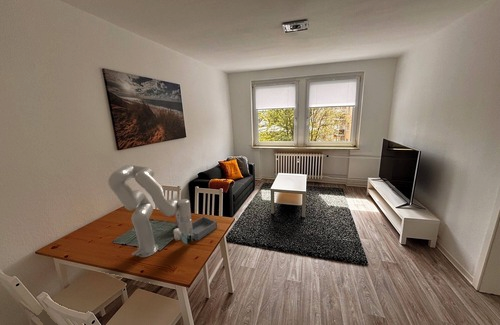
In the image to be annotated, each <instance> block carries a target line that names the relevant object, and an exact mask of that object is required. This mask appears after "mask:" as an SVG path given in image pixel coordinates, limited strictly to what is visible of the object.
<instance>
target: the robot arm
mask: <svg viewBox="0 0 500 325" xmlns="http://www.w3.org/2000/svg"><path fill="white" fill-rule="evenodd" d="M154 176H155V171H154V170H153V169H152V168H149V167H146V166H142V165H141V166H140V165H139V166H138V165H135V164H134V165H133V164H126V165H123V166H121V167H120V168H118V169H116V170H115V171H114V172H112V173H111V174H110V175H109V177H108V181H107V182H108V186H109V188H110V189H111V191H112V192H113V193H114V195H115V196H117V199H118V200H119V201H120V203H121V204H122V205H123V207H124V208H125V209H126V210H128V211H133V213H132V215H131V218H130V220H131V223H132V225H133V227H134V231H135V235H136V239H137V242H138V243H137V244H138V247H137V250H135V251H134V252H133V251H132V253H131V255H132V256H133V257H134V256H136V257H137V256H138V257H139V258H147V257H150V256H152V255H154V254H155V253H157V252H158V250H159V245H158V244H157V243H156V242H155V237H154V232H153V227H152V224H151V222H150V217H151V215H152V213H153V211H154V207H153V205H152V203H151V202H150V200H149V199H148V197H147V195H146V194H145V193H144V192H143V191H141V190H138V189H135V190H132V188H131V187H130V185H128V184H127V181H129V180H130V179H132V178H133V179H134V180H135V182H137V184H138V185H139V186H140V187H141V188H142V189H143V190H144V191H146V193H148V195H149V196H150V197H151V199H152V202H153V203H154V205H155V206H156V208H157V209H158V210H159V211H160V212H161V213H162V214H163V215H165V216H166V217H172V216H174V215H175V213H176V211H177V210H178V211H179V227H178V228H179V231H180V232H181V235H183V234H185V235H187V237H188V238H187V243H188V244H189V243H192V242H193V239H192V236H193V235H194V234H193V227H192V223H193V222H192V214H191V202H190V200H189V199H187V198H182V199H179V198H171V199H169V200H167V199H166V197H165V194H164V189H163V186H162V185H161V184H160V183H159V182H158V181H157V179H156V178H154ZM189 232H190V233H189ZM189 234H190V236H189Z"/></svg>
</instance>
